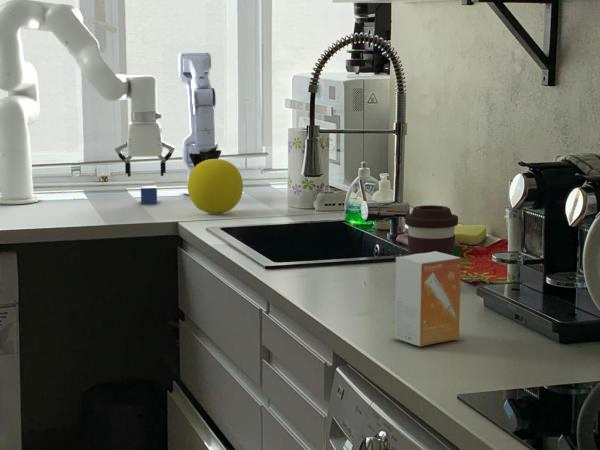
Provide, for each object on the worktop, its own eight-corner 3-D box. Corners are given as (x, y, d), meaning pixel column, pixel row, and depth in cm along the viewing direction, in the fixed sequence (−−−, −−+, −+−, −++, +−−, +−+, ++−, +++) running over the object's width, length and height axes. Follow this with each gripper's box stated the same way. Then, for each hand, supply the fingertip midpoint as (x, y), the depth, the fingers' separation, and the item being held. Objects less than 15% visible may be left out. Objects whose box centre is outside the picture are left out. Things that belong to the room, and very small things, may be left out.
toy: (233, 207, 298) (232, 155, 296) (250, 215, 284) (249, 160, 281) (182, 210, 293) (181, 157, 290) (196, 219, 279) (195, 163, 276)
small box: (420, 347, 157) (421, 263, 155) (394, 338, 162) (394, 256, 160) (460, 339, 162) (462, 256, 159) (433, 330, 167) (434, 250, 165)
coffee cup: (400, 280, 202) (400, 204, 200) (450, 279, 203) (451, 203, 201) (409, 292, 193) (410, 212, 190) (462, 291, 193) (463, 211, 191)
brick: (156, 203, 309) (156, 187, 308) (141, 204, 308) (140, 188, 307) (157, 201, 313) (156, 185, 313) (142, 201, 313) (141, 186, 312)
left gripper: (173, 116, 311) (175, 173, 314) (115, 117, 309) (117, 174, 312) (173, 118, 303) (175, 177, 306) (113, 119, 302) (115, 178, 304)
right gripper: (202, 127, 315) (203, 172, 317) (182, 131, 301) (183, 178, 303) (223, 128, 313) (224, 173, 315) (204, 131, 299) (205, 179, 301)
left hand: (145, 175), depth 309 cm, fingers open, 9 cm apart
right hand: (205, 175), depth 309 cm, fingers open, 7 cm apart
